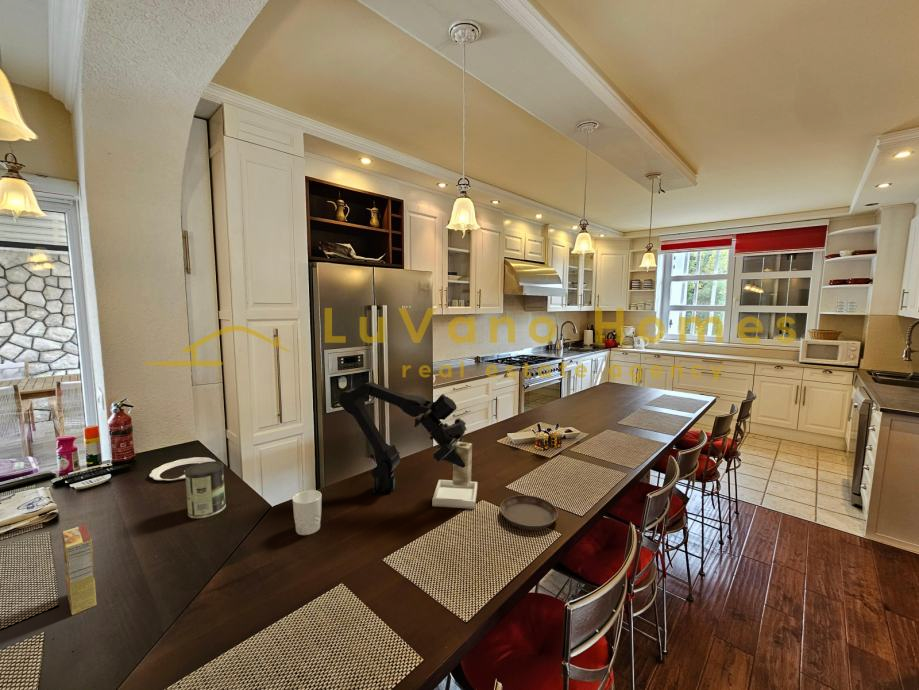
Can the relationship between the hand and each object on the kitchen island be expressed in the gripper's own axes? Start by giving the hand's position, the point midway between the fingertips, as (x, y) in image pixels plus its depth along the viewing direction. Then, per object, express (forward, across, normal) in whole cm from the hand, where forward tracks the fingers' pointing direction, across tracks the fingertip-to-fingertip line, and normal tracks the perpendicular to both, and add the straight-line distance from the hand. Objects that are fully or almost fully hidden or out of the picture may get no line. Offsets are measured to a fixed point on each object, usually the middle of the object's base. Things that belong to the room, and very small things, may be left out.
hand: (466, 463), depth 129 cm
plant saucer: (+25, -4, -5) cm, 25 cm away
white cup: (-19, -28, +39) cm, 51 cm away
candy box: (-40, -65, +60) cm, 98 cm away
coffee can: (-45, -28, +65) cm, 84 cm away
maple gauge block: (+4, 0, +6) cm, 7 cm away
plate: (-69, -8, +90) cm, 113 cm away
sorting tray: (+7, +2, +12) cm, 14 cm away
